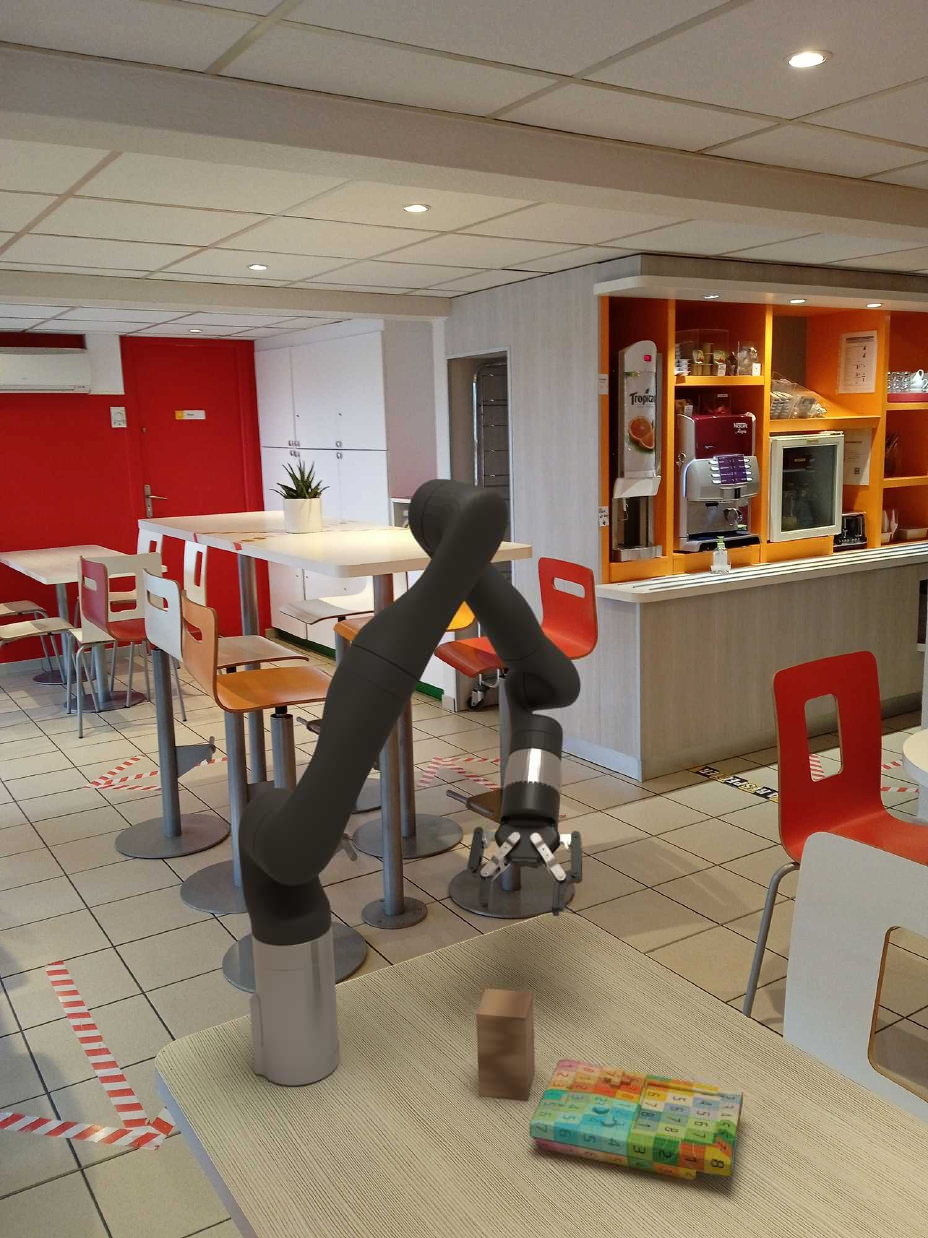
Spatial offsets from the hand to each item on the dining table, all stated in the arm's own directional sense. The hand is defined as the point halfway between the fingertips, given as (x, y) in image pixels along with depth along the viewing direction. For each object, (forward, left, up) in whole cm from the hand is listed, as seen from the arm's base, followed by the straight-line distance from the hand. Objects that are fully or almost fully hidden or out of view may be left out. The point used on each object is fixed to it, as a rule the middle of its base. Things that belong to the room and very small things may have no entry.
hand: (520, 912), depth 126 cm
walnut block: (0, -12, -15) cm, 19 cm away
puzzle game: (+15, -19, -16) cm, 29 cm away
